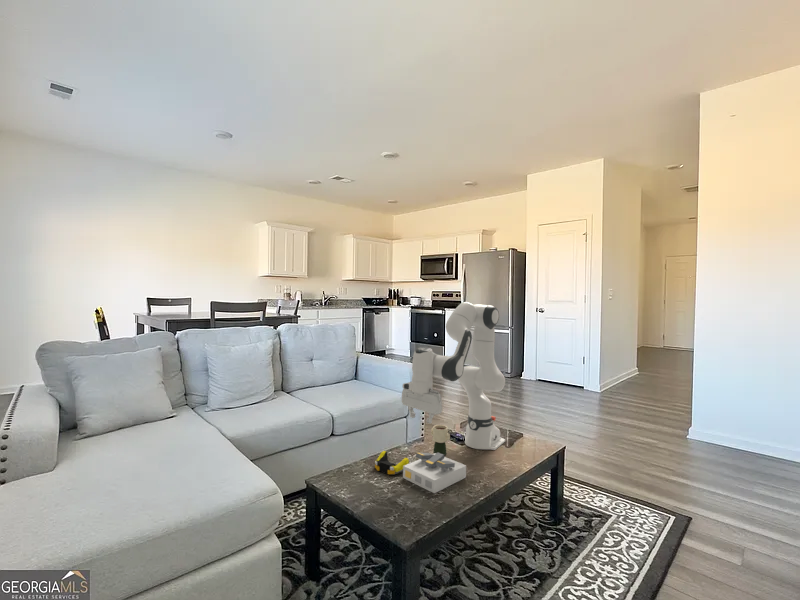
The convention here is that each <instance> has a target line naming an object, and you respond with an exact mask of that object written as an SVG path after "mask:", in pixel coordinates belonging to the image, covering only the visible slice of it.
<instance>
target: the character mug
mask: <svg viewBox="0 0 800 600" xmlns="http://www.w3.org/2000/svg"><path fill="white" fill-rule="evenodd" d="M430 434H431V436H432V441H433V442H434V445H433V453H432V454H434V453H441V454H443V455H444V456H446V455H447V445H446V442H449V441H451V434H450V433H449V427H448V426H447V425H443V424H436V425H435V424H434V426H432V428H431V429H430Z"/></svg>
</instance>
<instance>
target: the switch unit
mask: <svg viewBox="0 0 800 600" xmlns="http://www.w3.org/2000/svg"><path fill="white" fill-rule="evenodd" d="M432 454H433V455H435V454H436V453H432ZM427 460H429V459H419V458H418V459H417V460H415V461H412V462H409V464H407V465H404V466H403V471H402V478H403V479H405V480H406V481H408V482H410V483H412V484H415V485H417V486H419V487H420V488H423V489H425V490H426V491H429V492H430V493H432V494H436V493H438V492H440V491H442V490H445V489H446V488H448V487H450V486H451V485H454V484H455V483H458V482H460V481H461V480H463V479H465V478H467V465H466V464H463V463H462V462H460V461H457V460H454V459H451V458H448V457H447V456H444V459H443V460H442V461H450V462H453V463H455V467H453V468H441V467H438V466H434V467H433V468H431V467H428V466H426V463H425V462H426V461H427Z"/></svg>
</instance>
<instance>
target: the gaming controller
mask: <svg viewBox="0 0 800 600" xmlns="http://www.w3.org/2000/svg"><path fill="white" fill-rule="evenodd" d="M388 456H389V455H388V451H386V450H383V451H381V452H380V453H379V456H378V457H377V458H376V460H375V461H374V468H375V470H376V471H378V472H381V473H383V474H387V475H392V476H393V475H397V474H400V473H403V466H404V465H407V464H409V463H410V460H409V458H408V457H404V458H403V459H402V460H401V461H400V462H398V463H397V464H396V463H393V462H391V461H389V457H388Z"/></svg>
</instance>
